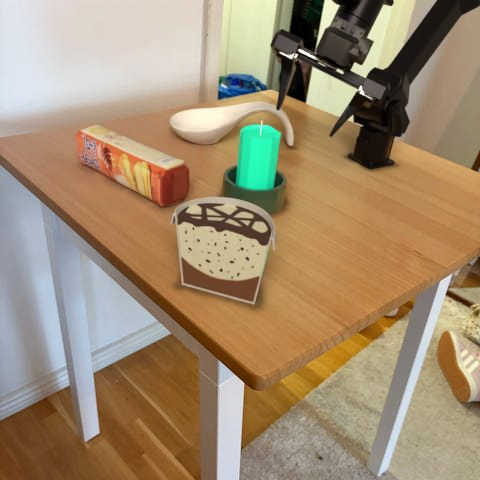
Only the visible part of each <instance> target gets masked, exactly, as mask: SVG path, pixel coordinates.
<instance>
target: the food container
mask: <svg viewBox="0 0 480 480" xmlns="http://www.w3.org/2000/svg"><path fill="white" fill-rule="evenodd" d="M173 224H175V230H176V240H177V241H176V242H177V251H178V261H179V270H180V279H181V285H182V286H185V287H189V288H192V289H196V290H199V291H203V292H207V293H210V294H214V295H217V296H221V297H225V298H229V299H232V300H235V301H239V302H242V303H247V304H251V305H254V306H255V304H256V301H257V299H258V296H259V291H260V288H261V284H262V280H263V276H264V272H265V268H266V266H267V261H268V256H269V253H270V249H271V245H272V248H273V249H272V250H273V251H276V248H277V244H278V243H277V242H278V239H277V229H276V225H275V223H274V220H273V217H272V216H271V214H268V213H267V212H266V211H264V210H263V209H262V208H260V207H258V206H256V205H254V204H252V203H249V202H246V201H243V200H239V199H234V198H226V197H223V196H208V197H200V198H194V199H191V200H187V201H186V202H183V203H182V204H179V205H178V206H177V207H175V209H174V212H173V213H172V214H171V221H170V225H171V226H173Z"/></svg>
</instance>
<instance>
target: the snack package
mask: <svg viewBox="0 0 480 480" xmlns="http://www.w3.org/2000/svg"><path fill="white" fill-rule="evenodd" d="M75 146H76V149H75V150H76V155H77V156H76V157H77V159H78V161H79V162H80V163H81V164H82V165H84V166H87V167H89V168H92V169H93V170H95V171H97V172H99V173H101V174H103V175H104V176H106V177H108V178H109V179H111V180H113V181H115V182H117V183H118V184H120V185H122V186H124V187H126V188H128V189H130V190H132V191H134V192H136V193H137V194H139V195H141V196H143V197H145V198H147V199H148V200H151V202H154V203H155V204H157V205H159V206H160V207H163V208H164V207H165V208H166V207H171V206H173V205H175V204H178V203H179V202H182V200H184V199H185V198H186V197H187V196H188V194H189V192H190V185H191V184H190V167H189V165H188V163H187V162H186V161H185V160H183V159H180V158H177V157H174V156H172V155H169V154H167V153H165V152H163V151H160V150H158V149H156V148H153V147H151V146H148V145H146V144H143V143H141V142H139V141H137V140H134V139H132V138H129V137H128V136H125V135H122V134H120V133H118V132H115V131H113V130H110V129H108V128H106V127H104V126H103V125H101V124H92V125H90V126H86V127H84V128H81V129H79V130H78V131H77V133H76V135H75Z"/></svg>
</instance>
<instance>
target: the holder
mask: <svg viewBox="0 0 480 480" xmlns="http://www.w3.org/2000/svg"><path fill="white" fill-rule="evenodd" d="M222 175H223V176H222V187H221V188H222V191H221V197H226V198H234V199H239V200H243V201H246V202H249V203H252V204H254V205H256V206H258V207H260V208H262V209H263V210H264V211H266V212H267V213H268V214H269V215H272V214H275V213H277V212H279V211H281V209H282V208H283V206H284V202H285V196H286V189H287V182H288V179H287V178H286V177H287V176H285V174H284V173H282V172H281V171H280V170H278V168H277V169H276V177H275V184H274V188H271V189H249V188H244V187H241V186H239V185H236V175H237V164H236V165H232V166H230V167H228V168H226V169H225V171H224V173H223V174H222Z"/></svg>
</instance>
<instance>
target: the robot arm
mask: <svg viewBox="0 0 480 480" xmlns="http://www.w3.org/2000/svg"><path fill="white" fill-rule="evenodd" d="M331 1H332V2H333V4H335V5H337V6H338V8H337V10H336V12H335V14H334V16H333V18H332V20H331V22H330V25H329V26H327V27H325V28H324V31H323V33H322V35H321V37H320V39H319V41H318V43H317V46H316V47H315V52H314V51H312V50H311V49H309V48H307V47H305V46H304V40H303V38H301V37H300V36H297V35H295V34H293V33H291V32H289V31H287V30H285V29H283V28H281V29H279V30H277V31H276V33H275V34H274V36H273V38H272V39H271V42H270V45H269V46H270V49H271V51H272V53H273V54H274V55H275V58H276V60H277V63H279V64H280V82H279V88H278V95H277V103H276V106H277V108H276V109H277V110H278V111H279V110H280V109H282V106H283V104H284V102H285V100H286V97H287V95H288V92H289V89H290V86H291V83H292V80H293V78H294V75H295V72H296V70H297V66H296V62H297V61H301V62H302V63H304V64H306V65H308V66H310V67H313V68H314V69H316V70H318V71H320V72H322V73H323V74H326V75H328V76H331V77H332V78H334V79H335V80H338V81H340V82H342V83H344V84H346V85H348V86H350V87H352V88H354V89H356V91H355V93H354V95H353V96H352V98H351V100H350V101H349V103H348V104H347V106H346V107H345V108H344V110H343V111H342V113H341V115H340V116H339V117H338V119H337V120H336V122H335V123H334V125H333V127H332V129H331V131H330V133H329V136H328V137H329V138H332V137H333V136H334V135H335V134H336V133H337V132H338V131H339V130H340V129H341V128H342V127H343V125H344V124H345V123H347V121H348V120H349V119H350V118H351V117H352V119H353V123H354V124H357V125H360V127H359V132H358V135H357V136H356V140H355V145H354V149H353V152H349V153H348V154H347V157H348V158H349V159H351V160H353V161H355V162H357V163H358V164H360V165H361V166H364V167H366V168H367V169H369V170H373V169H379V168H382V167H387V166H393V165H395V163H396V161H395V160H394V159H392V158H391V152H392V149H393V145H394V141H395V139H396V138H402V136H403V135H404V134H406V132H407V130H408V128H409V126H410V123H411V120H410V118H409V114H408V113H407V110H406V108H407V105H408V104H409V101H410V89H411V88H410V87H411V85H412V84H413V82H414V81H415V79H416V78H417V77H418V75H419V74H420V73H421V71H422V70H423V69H424V67H425V66H426V64H427V63H428V62H429V60H430V59H431V57H432V56H433V55H434V54H435V52H436V51H437V50H438V48H439V47H440V46H441V44H442V42H443V41H444V40H445V39H446V37H447V36H448V34H449V33H450V32H451V30H452V29H453V28H454V26H455V25H456V23H457V22H458V21H459V19H460V18H462V16H464V15H465V14H468V13H470V12H471V11H474V10H476V9H477V8H479V7H480V0H436V1H435V2H434V3H433V5H432V6H431V8H430V9H429V10H428V11H427V12H426V14H425V16H424V17H423V19H422V20H421V21H420V22H419V24H418V25H417V27H416V29H414V30H413V32H412V33H411V35H410V37H409V38H408V39H407V40H406V42H405V43H404V44H403V46H402V47H401V49H399V51H398V53H397V54H396V55H395V57H394V58H393V60H392V61H391V62H390V64H389V65H388V66H387V67H385V68H383V69H382V68H379V67H376V66H374V67H373V68H371V69H370V70H369V72H368V73H367V75H366V77H364V76H362V75H360V74H358V73H356V72H354V71H353V70H352V69H353V66H355V64H357V65H359V66H363V65H364V63H365V61H366V59H367V57H368V55H369V53H370V52H371V50H372V47H373V45H374V43H375V41H374V40H373V39H370V38H369V35H370V32H371V30H372V28H373V26H374V25H375V23H376V21H377V19H378V16H379V15H380V12H381V11H382V9H383V6H388V7H393V6H394V4H395V1H394V0H331ZM338 70H339V71H341V72H342V73H341V72H339V71H338Z"/></svg>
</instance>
